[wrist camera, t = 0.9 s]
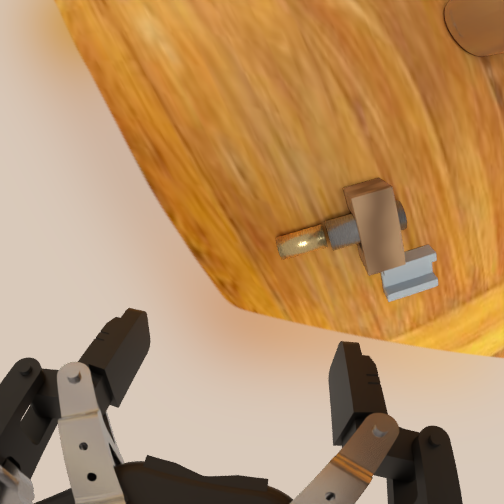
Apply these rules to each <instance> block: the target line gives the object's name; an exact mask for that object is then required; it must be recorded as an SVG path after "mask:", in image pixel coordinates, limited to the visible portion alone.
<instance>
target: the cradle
mask: <svg viewBox="0 0 504 504" xmlns="http://www.w3.org/2000/svg"><path fill="white" fill-rule="evenodd" d="M404 255H405V262H406V264H405V265H402V266H399V267H396V268H393V269H389V270H386V271H383V272H381V277H382V284H383V290H384V293H385V295H386V297H387V299H388V302H390V301H393V300H396V299H399V298H403V297H406V296H409V295H412V294H415V293H418V292H421V291H424V290H427V289H430V288H433V287H435V286H438V278H437V277H436V276H435V274H434V273H433V270H432V262H434V261H437V257H436V252H435V251H434V250H433V249H432V248H431V247H430V246H429V245H426V246H422V247H419V248H416V249H413V250H410V251H407V252H404Z"/></svg>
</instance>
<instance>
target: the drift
mask: <svg viewBox="0 0 504 504" xmlns="http://www.w3.org/2000/svg"><path fill="white" fill-rule="evenodd" d="M276 243H277V247H278V251H279V254H280V256H281V258H282V260H284V259H288V258H291V257H295V256H298V255H302V254H305V253H309V252H312V251H316V250H319V249H323V248H326V247H328V246H327V243H326V239H325V236H324V232H323V229H322V225H321V224H320V225H317V226H314V227H310V228H307V229H303V230H300V231H297V232H293V233H290V234H286V235H283V236H280V237H276Z"/></svg>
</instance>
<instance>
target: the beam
mask: <svg viewBox="0 0 504 504" xmlns="http://www.w3.org/2000/svg"><path fill="white" fill-rule="evenodd" d="M343 191H344V194H345V198H346V201H347V205H348V208H349V210H350V211H351V213H352V214H353V216H354V217H355V220H356V224H357V228H358V232H359V236H360V241H361V243H357V245H358V250H359V254H360V258H361V260H362V262H363V264H364V266H365V269H366V271H367V273H368V275H369V276H370V275H373V274H376V273H380V272H383V271H386V270H389V269H393V268H396V267H399V266H402V265H405V264H406V262H405V255H404V248H403V241H402V235H401V229H400V223H399V218H398V212H397V207H396V202H395V197H394V192H393V188H392V186H390V185H389V184H388V183H386V182H385V181H383V180H382V179H380V178H376V179H372V180H369V181H365V182H362V183H358V184H355V185H351V186H348V187H344V188H343Z"/></svg>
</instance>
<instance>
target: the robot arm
mask: <svg viewBox="0 0 504 504" xmlns="http://www.w3.org/2000/svg"><path fill="white" fill-rule="evenodd" d="M444 15H445V21H446V24H447V27H448V29H449V31H450V33H451V35H452V36H453V37H454V39H455V40H456V41H457V43H458V44H459V45H460V46H461V47H462V48H464V49H465V50H466V51H468V52H469V53H471V54H473V55H476V56H489V55H494V54H500V53H504V0H451V1H449V2H448V3H447V5H446V7H445V13H444ZM149 347H150V333H149V327H148V318H147V313H146V312H145V311H141V310H136V309H132V308H128V309H127V310H126V311H125V313H124V314H123V316H122V317H121V318H118V317H115V318H114V319H112V320H111V321H109V322H108V323H107V324H106V325H105V326H104V327H103V329H102V330H101V332H100V333H99V334H98V335H97V337H96V339H94V341H93V342H92V343H91V345H90V346H89V347H88V349H87V350H86V351H85V353H84V354H83V355H82V357H81V358H80V360H79V361H78V362H71V363H68V364H66V365H64V366H63V367H61V368H60V370H50V369H42V368H41V366H40V363H39V362H38V361H37V360H36V359H34V358H24V359H21V360H19V361H18V362H16V363H15V365H14V366H13V367H12V369H11V370H10V371H9V373H8V374H7V375H6V377H5V378H4V379H3V381H2V382H1V384H0V504H32V500H33V499H34V493H33V484H32V482H31V480H30V479H31V477H32V475H33V473H34V471H35V468H36V466H37V464H38V462H39V460H40V457H41V456H42V454H43V451H44V450H45V448H46V445H47V443H48V442H49V440H50V438H51V436H52V433H53V432H54V430H55V428H56V426H57V424H58V428H59V434H60V440H61V445H62V450H63V455H64V460H65V465H66V468H67V473H68V477H69V481H70V485H71V488H70V489H68V490H65V491H63V492H61V493H58V494H56V495H54V496H52V497H49V498H46V499H44V500H42V501H39V502H36V503H34V504H355V502H356V501H357V500H358V498H359V497H360V496H361V494H362V493H363V492H364V490H365V489H366V488H367V486H368V485H369V483H370V482H371V480H372V476H373V475H376V476H380V477H385V478H387V494H388V504H463V503H462V497H461V490H460V485H459V480H458V474H457V469H456V464H455V459H454V455H453V450H452V446H451V442H450V438H449V436H448V434H447V433H446V432H445V431H444V430H443V429H442V428H440V427H437V426H428V427H425V428H424V429H423V430H422V431H421V432H420V433H419V432H415V431H411V430H406V429H403V428H400V427H399V426H398V424H397V422H396V421H395V419H393V418H392V417H391V416H389V415H388V413H387V409H386V405H385V400H384V396H383V392H382V388H381V385H380V380H379V377H378V372H377V368H376V364H375V363H374V362H373V361H372V359H371V358H370V357H369V356H365V355H362V353H361V350H360V345H359V343H356V342H355V343H354V342H343V341H341V342H340V343H339V345H338V348H337V351H336V354H335V356H334V359H333V362H332V364H331V367H330V371H329V390H330V403H331V417H332V430H333V431H332V432H333V445H338V446H342V449H341V450H340V452H339V453H338V454H337V455H336V456H335V457H334V458H333V459H332V460H331V461H330V462H329V463H328V464H327V465H326V466H325V468H324V469H323V470H322V471H321V472H320V473H319V474H318V475H317V476H316V477H315V478H314V480H313V481H312V482H311V483H310V484H309V485H308V486H307V487H306V488H305V489H304V490H303V491H302V492H301V493H300V494H299V495H298V496H297V497H296V498H295V499H294V500H293V499H292V498H290V497H289V496H288V495H286V494H285V493H283V492H282V491H280V490H278V489H275V488H273V487H270V486H268V479H264V478H254V477H247V476H239V475H236V476H202V475H200V474H198V473H195V472H193V471H191V470H189V469H187V468H185V467H183V466H181V465H179V464H177V463H174V462H170V461H166V460H162V459H159V458H155V457H152V456H149V455H147V457H146V460H145V462H144V461H136V462H128V463H124V461H123V458H122V456H121V454H120V452H119V449H118V447H117V444H116V441H115V437H114V435H113V431H112V428H111V425H110V421H109V418H108V414H107V411H106V410H107V408H108V406H109V405H112V406H115V407H119V406H120V404H121V402H122V400H123V398H124V396H125V394H126V392H127V390H128V388H129V386H130V385H131V383H132V381H133V379H134V377H135V375H136V373H137V371H138V369H139V368H140V366H141V364H142V362H143V360H144V358H145V356H146V355H147V353H148V350H149ZM29 405H30V407H29ZM28 407H29V409H28V411H27V412H26V410H27V408H28ZM25 412H26V414H25V416H24V417H23V419H22V416H23V415H24V413H25ZM21 419H22V420H21Z"/></svg>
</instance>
